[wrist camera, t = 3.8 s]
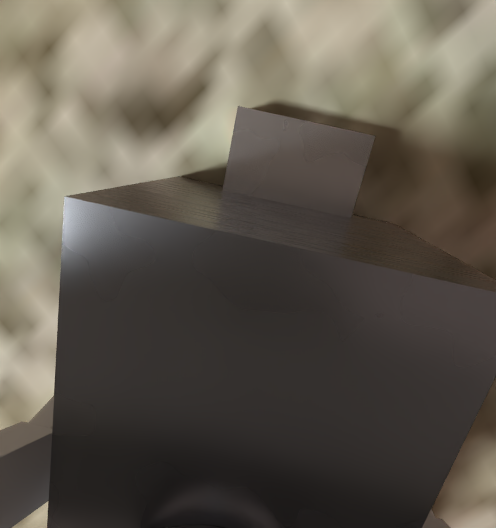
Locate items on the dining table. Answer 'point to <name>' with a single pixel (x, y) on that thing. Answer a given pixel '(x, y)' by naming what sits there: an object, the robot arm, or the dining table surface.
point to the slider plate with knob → (260, 348)
